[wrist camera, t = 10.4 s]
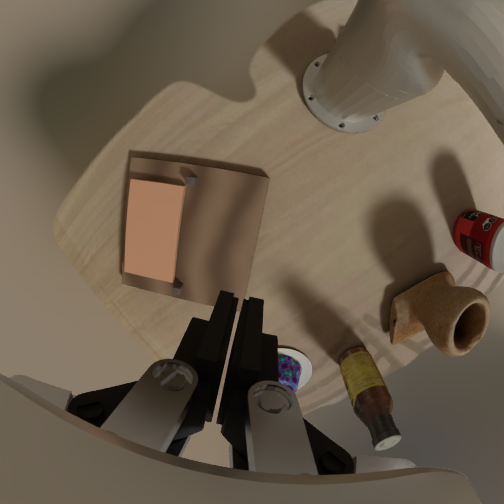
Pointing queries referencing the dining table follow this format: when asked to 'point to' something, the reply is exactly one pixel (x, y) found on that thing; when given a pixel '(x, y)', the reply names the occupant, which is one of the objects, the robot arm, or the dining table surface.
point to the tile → (153, 228)
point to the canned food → (481, 238)
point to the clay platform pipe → (441, 314)
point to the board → (206, 229)
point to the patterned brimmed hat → (293, 369)
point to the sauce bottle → (369, 396)
